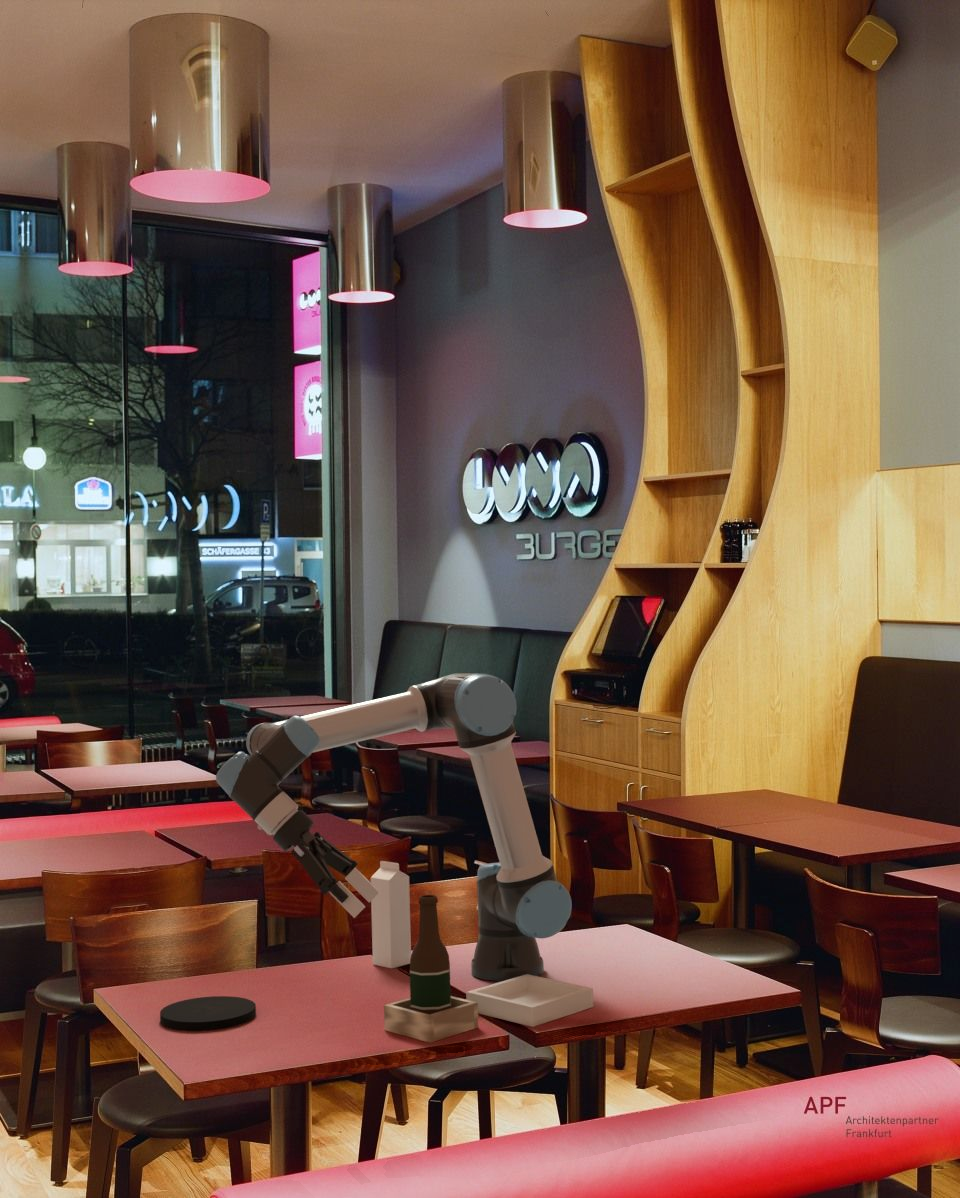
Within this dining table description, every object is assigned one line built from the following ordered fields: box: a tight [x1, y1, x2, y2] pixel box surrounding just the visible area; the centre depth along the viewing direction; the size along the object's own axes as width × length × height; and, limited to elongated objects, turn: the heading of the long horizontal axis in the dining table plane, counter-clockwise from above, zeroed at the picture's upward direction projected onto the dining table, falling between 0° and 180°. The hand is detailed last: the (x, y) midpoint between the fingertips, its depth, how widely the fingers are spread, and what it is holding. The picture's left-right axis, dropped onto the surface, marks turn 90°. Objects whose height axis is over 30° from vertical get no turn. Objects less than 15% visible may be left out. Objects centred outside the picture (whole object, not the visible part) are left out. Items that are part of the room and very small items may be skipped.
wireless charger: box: [159, 995, 257, 1032], centre depth 266 cm, size 18×18×2 cm
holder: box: [383, 995, 479, 1043], centre depth 255 cm, size 12×12×4 cm
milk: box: [370, 860, 412, 969], centre depth 304 cm, size 6×6×22 cm
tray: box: [465, 974, 594, 1028], centre depth 266 cm, size 17×17×4 cm
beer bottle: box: [409, 894, 452, 1015], centre depth 255 cm, size 8×8×24 cm
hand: (367, 904), depth 256 cm, fingers open, 13 cm apart
